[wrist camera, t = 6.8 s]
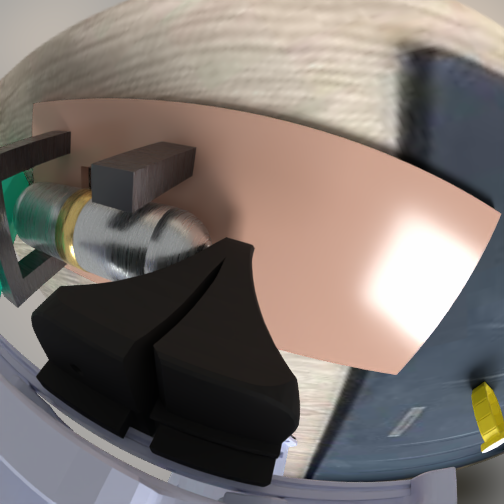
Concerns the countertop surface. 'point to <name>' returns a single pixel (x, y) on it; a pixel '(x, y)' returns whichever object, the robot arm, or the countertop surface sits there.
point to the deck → (300, 220)
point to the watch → (488, 416)
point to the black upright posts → (103, 192)
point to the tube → (105, 232)
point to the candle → (12, 199)
